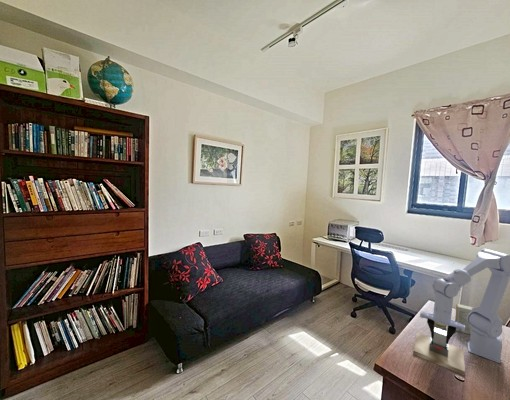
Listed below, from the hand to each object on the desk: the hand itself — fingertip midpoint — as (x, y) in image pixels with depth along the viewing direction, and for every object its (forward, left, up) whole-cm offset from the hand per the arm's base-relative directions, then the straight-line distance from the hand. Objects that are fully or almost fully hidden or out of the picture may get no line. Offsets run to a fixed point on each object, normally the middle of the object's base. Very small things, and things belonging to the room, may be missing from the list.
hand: (439, 339), depth 97 cm
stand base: (0, 0, -6) cm, 6 cm away
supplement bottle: (0, -26, -6) cm, 27 cm away
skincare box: (-9, -29, -6) cm, 31 cm away
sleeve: (0, 0, -4) cm, 4 cm away
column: (0, 0, -4) cm, 4 cm away
